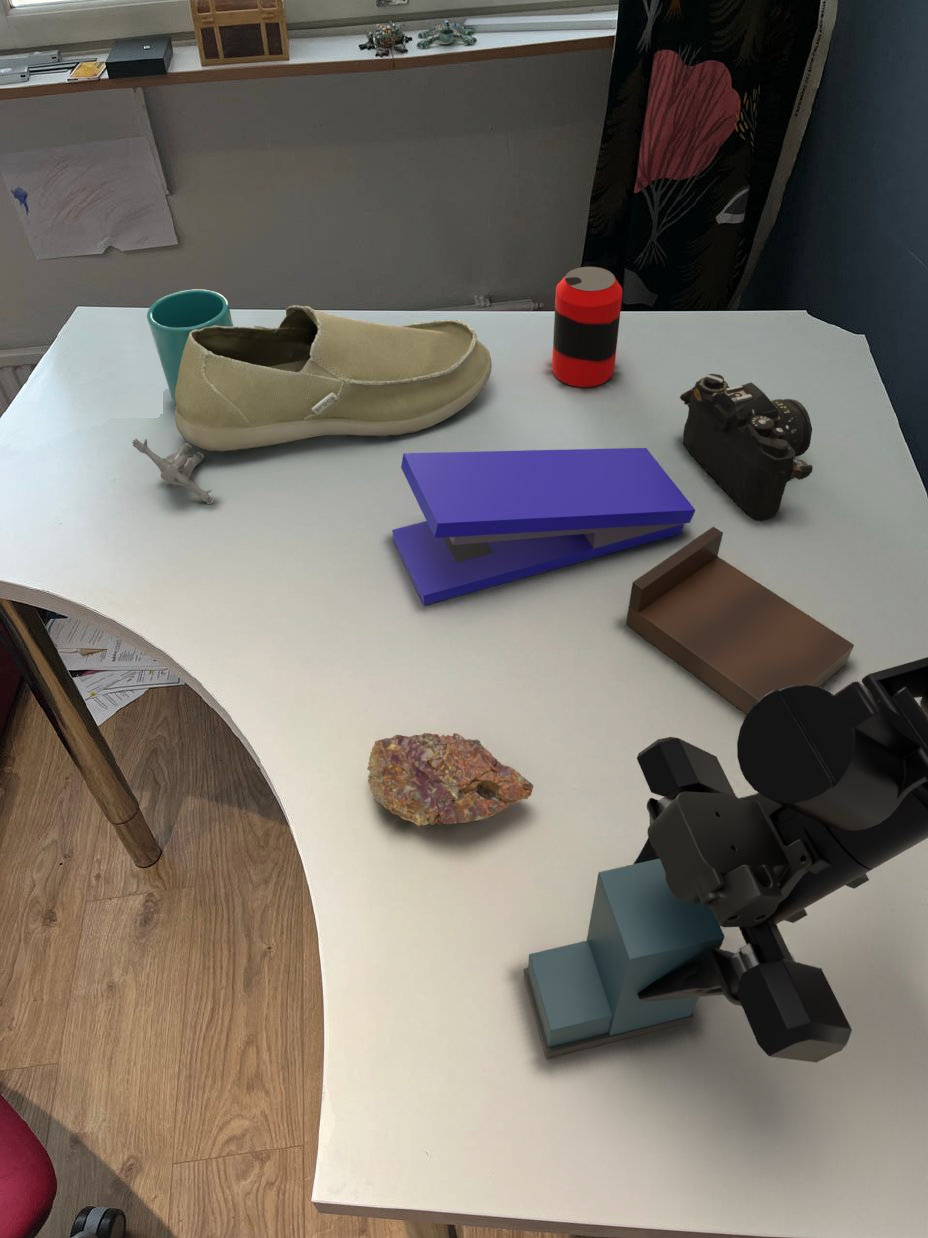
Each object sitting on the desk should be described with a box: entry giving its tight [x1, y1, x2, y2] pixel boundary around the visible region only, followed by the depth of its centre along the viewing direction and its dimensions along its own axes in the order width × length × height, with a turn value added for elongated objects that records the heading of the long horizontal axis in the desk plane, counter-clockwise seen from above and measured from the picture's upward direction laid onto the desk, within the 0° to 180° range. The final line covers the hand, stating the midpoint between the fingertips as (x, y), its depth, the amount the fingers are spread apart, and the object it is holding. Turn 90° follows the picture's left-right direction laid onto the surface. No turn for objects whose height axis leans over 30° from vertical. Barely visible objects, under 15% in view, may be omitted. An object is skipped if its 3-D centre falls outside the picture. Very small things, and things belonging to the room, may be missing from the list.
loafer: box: [174, 305, 493, 452], centre depth 103 cm, size 14×37×13 cm, turn 112°
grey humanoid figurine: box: [131, 438, 215, 505], centre depth 98 cm, size 10×6×9 cm
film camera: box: [679, 373, 813, 521], centre depth 96 cm, size 18×12×10 cm
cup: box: [146, 289, 235, 405], centre depth 109 cm, size 9×12×11 cm
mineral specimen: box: [366, 732, 534, 827], centre depth 71 cm, size 12×8×7 cm
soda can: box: [551, 266, 623, 388], centre depth 109 cm, size 8×8×12 cm
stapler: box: [391, 447, 696, 606], centre depth 90 cm, size 12×28×10 cm, turn 110°
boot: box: [522, 859, 726, 1059], centre depth 57 cm, size 10×6×13 cm, turn 103°
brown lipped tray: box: [625, 526, 855, 715], centre depth 81 cm, size 16×11×6 cm
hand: (625, 951), depth 57 cm, fingers closed on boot, 5 cm apart
